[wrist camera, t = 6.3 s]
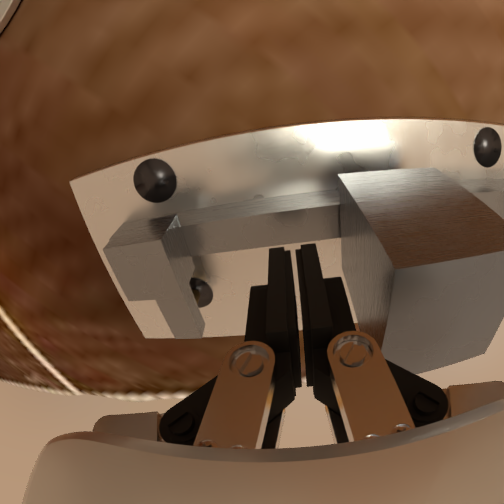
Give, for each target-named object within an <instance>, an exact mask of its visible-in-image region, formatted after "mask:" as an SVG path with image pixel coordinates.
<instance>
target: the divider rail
mask: <svg viewBox="0 0 504 504" xmlns="http://www.w3.org/2000/svg"><path fill="white" fill-rule="evenodd" d="M454 181H455V182H457V183H458V184H460V185H461V186H462V187H464V188H465V189H467V190H468V191H469V192H471V193H472V194H473V195H474V196H476V197H477V198H478V199H480V200H481V201H482V202H483V203H485V204H486V205H487V206H488V207H490V208H491V209H492V210H493V211H495V212H496V213H497V214H498V215H499V216H500V217H502V218H504V179H469V180H454ZM334 238H341V222H340V203H339V189H333V190H324V191H315V192H307V193H299V194H291V195H283V196H276V197H269V198H262V199H255V200H248V201H241V202H235V203H228V204H222V205H216V206H210V207H204V208H198V209H193V210H187V211H181V212H176V213H171V214H165V215H160V216H155V217H150V218H145V219H140V220H135V221H130V222H125V223H123V224H122V225H121V226H120V227H119V228H118V230H117V231H116V232H115V233H114V234H113V235H112V236H111V238H110V239H109V240H110V241H109V242H108V243H107V245H106V246H105V247H104V248H103V249H102V250H103V252H104V254H105V256H106V258H107V260H108V262H109V264H110V266H111V268H112V270H113V272H114V274H115V276H116V278H117V280H118V282H119V284H120V286H121V288H122V290H123V292H124V294H125V296H126V297H127V299H128V301H143V300H155V301H156V303H157V305H158V307H159V309H160V311H161V313H162V314H163V316H164V318H165V320H166V322H167V324H168V326H169V328H170V330H171V332H172V334H173V335H174V337H175V339H192V338H202V336H203V332H204V328H205V322H204V319H203V317H202V315H201V312H200V310H199V307H198V302H199V299H200V292H199V291H198V290H196V289H191V287H190V285H189V282H190V279H191V277H192V274H193V271H194V269H195V265H194V263H193V260H192V257H191V256H198V255H206V254H214V253H222V252H230V251H238V250H246V249H254V248H262V247H270V246H278V245H286V244H294V243H302V242H310V241H318V240H326V239H334Z"/></svg>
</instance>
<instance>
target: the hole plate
mask: <svg viewBox="0 0 504 504" xmlns="http://www.w3.org/2000/svg"><path fill="white" fill-rule="evenodd" d="M412 168H436V169H438V170H439V171H441V172H442V173H444V174H445V175H447V176H448V177H450V178H451V179H453V180H469V179H504V124H498V123H491V122H482V121H473V120H461V119H447V118H423V117H380V118H356V119H340V120H327V121H317V122H307V123H298V124H290V125H282V126H275V127H268V128H262V129H256V130H250V131H244V132H238V133H233V134H228V135H223V136H218V137H213V138H208V139H204V140H199V141H195V142H191V143H186V144H182V145H178V146H174V147H170V148H166V149H163V150H159V151H155V152H152V153H148V154H145V155H141V156H138V157H135V158H131V159H128V160H125V161H122V162H118V163H115V164H112V165H109V166H106V167H103V168H101V169H98V170H95V171H92V172H89V173H86V174H84V175H81V176H78V177H76V178H74V179H73V180H71V181H70V185H71V188H72V190H73V193H74V196H75V198H76V201H77V203H78V206H79V208H80V211H81V213H82V216H83V218H84V220H85V223H86V225H87V227H88V230H89V232H90V234H91V237H92V239H93V241H94V243H95V245H96V248H97V250H98V252H99V254H100V256H101V258H102V260H103V262H104V264H105V266H106V268H107V270H108V272H109V274H110V276H111V278H112V280H113V282H114V284H115V286H116V288H117V290H118V291H119V293H120V295H121V297H122V299H123V301H124V302H125V304H126V306H127V308H128V310H129V311H130V313H131V315H132V317H133V318H134V320H135V322H136V323H137V325H138V327H139V328H140V330H141V332H142V333H143V335H144V337H145V338H175V337H174V335H173V334H172V332H171V330H170V328H169V326H168V324H167V322H166V320H165V318H164V316H163V314H162V313H161V311H160V309H159V307H158V305H157V303H156V301H155V300H143V301H128V299H127V297H126V296H125V294H124V292H123V290H122V288H121V286H120V284H119V282H118V280H117V278H116V276H115V274H114V272H113V270H112V268H111V266H110V264H109V262H108V260H107V258H106V256H105V254H104V252H103V250H102V249H103V248H104V247H105V246H106V245H107V243H108V242H109V241H110V240H109V239H110V238H111V236H112V235H113V234H114V233H115V232H116V231H117V230H118V228H119V227H120V226H121V225H122V224H123V223H125V222H130V221H135V220H140V219H145V218H150V217H155V216H160V215H165V214H171V213H176V212H181V211H187V210H193V209H198V208H204V207H210V206H216V205H222V204H228V203H235V202H241V201H248V200H255V199H262V198H269V197H276V196H283V195H291V194H299V193H307V192H315V191H324V190H333V189H339V187H338V174H345V173H356V172H368V171H380V170H395V169H412ZM503 219H504V218H503ZM312 243H316V247H317V252H318V256H319V261H320V265H321V270H322V274H323V278H332V277H341V278H342V281H343V284H344V288H345V291H346V295H347V298H348V302H349V306H350V309H351V313H352V317H353V321H354V323H358V321H357V318H356V314H355V311H354V307H353V303H352V300H351V297H350V293H349V290H348V286H347V283H346V280H345V277H344V273H343V270H342V257H341V238H334V239H326V240H318V241H310V242H302V243H294V244H286V245H278V246H270V247H262V248H254V249H246V250H238V251H230V252H222V253H214V254H206V255H198V256H191V257H192V260H193V263H194V265H195V269H194V271H193V274H192V277H191V279H190V282H189V285H190V287H191V289H196V290H198V291H199V292H200V299H199V302H198V307H199V310H200V312H201V315H202V317H203V319H204V322H205V328H204V332H203V336H202V337H219V336H237V335H245V331H246V322H247V313H248V304H249V295H250V288H251V286H258V285H268V259H269V248H277V247H284V249H285V251H286V250H290V251H291V259H292V268H293V276H294V285H295V294H296V304H297V315H298V329H299V330H303V326H302V314H301V303H300V292H299V282H298V272H297V263H296V253H295V249H301V245H303V244H312Z"/></svg>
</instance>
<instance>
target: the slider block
mask: <svg viewBox="0 0 504 504" xmlns="http://www.w3.org/2000/svg"><path fill="white" fill-rule="evenodd" d="M338 187H339V203H340V222H341V257H342V270H343V273H344V277H345V280H346V283H347V286H348V290H349V293H350V297H351V300H352V303H353V307H354V311H355V314H356V318H357V321H358V325H359V329H360V331H361V332H363V333H366V334H368V335H370V336H371V337H373V338H374V340H375V341H376V342H377V344H378V346H379V348H380V350H381V352H382V354H383V356H384V358H385V359H387V360H388V361H390V362H392V363H394V364H396V365H398V366H400V367H402V368H404V369H406V370H408V371H410V372H412V373H413V374H419V373H423V372H427V371H431V370H434V369H438V368H441V367H444V366H448V365H451V364H455V363H458V362H461V361H464V360H467V359H470V358H473V357H476V356H478V355H481V354H484V353H485V351H486V350H487V348H488V346H489V345H490V343H491V341H492V339H493V337H494V335H495V333H496V331H497V329H498V327H499V325H500V323H501V321H502V319H503V317H504V219H503V218H502V217H500V216H499V215H498V214H497V213H496V212H495V211H493V210H492V209H491V208H490V207H488V206H487V205H486V204H485V203H483V202H482V201H481V200H480V199H478V198H477V197H476V196H474V195H473V194H472V193H471V192H469V191H468V190H467V189H465V188H464V187H462V186H461V185H460V184H458V183H457V182H455V181H454V180H453V179H451V178H450V177H448V176H447V175H445V174H444V173H442V172H441V171H439V170H438V169H436V168H412V169H395V170H380V171H368V172H356V173H345V174H338Z"/></svg>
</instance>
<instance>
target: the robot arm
mask: <svg viewBox="0 0 504 504" xmlns="http://www.w3.org/2000/svg"><path fill="white" fill-rule="evenodd" d="M20 1H21V0H0V33H1V32H2V30H3V29H4V28H5V26H6V25H7V23H8V22H9V20H10V18H11V17H12V15H13V13H14V12H15V10H16V8H17V6H18V4H19V3H20ZM295 253H296V263H297V272H298V282H299V292H300V303H301V314H302V326H303V338H304V351H305V365H306V381H307V387H309V386H313V392H314V396H315V398H316V399H317V400H319V401H320V402H322V403H323V404H325V409H326V413H327V417H328V421H329V424H330V428H331V432H332V436H333V440H334V444H331V445H324V446H314V447H301V448H283V449H278V447H279V442H280V438H281V432H282V427H283V422H284V417H285V408H286V407H287V406H288V405H289V404H290V403H291V402H292V401H293V400H294V399H295V396H296V388H297V387H302V383H301V362H300V345H299V329H298V315H297V304H296V294H295V285H294V276H293V268H292V259H291V251H290V250H286V251H285V249H284V247H277V248H269V259H268V285H258V286H251V288H250V295H249V304H248V313H247V322H246V331H245V340H244V342H243V343H239V344H237V345H236V346H234V347H232V348H231V349H230V350H229V351H228V352H227V354H226V356H225V357H224V360H223V363H222V365H221V368H220V371H219V374H218V375H217V376H216V377H215V378H213V379H212V380H210V381H209V382H208V383H206V384H205V385H203V386H202V387H201V388H199V389H198V390H196V391H195V392H194V393H192V394H191V395H189V396H188V397H186V398H185V399H184V400H182V401H181V402H179V403H178V404H176V405H175V406H173V407H172V408H170V409H169V410H168V411H167V412H166V413H163V414H159V413H158V412H147V413H136V414H121V415H107V416H103V417H102V418H100V419H99V420H98V421H97V422H96V423H95V425H94V428H93V432H86V431H84V432H74V433H68V434H64V435H60V436H58V437H56V438H53V439H52V440H50V441H49V442H48V443H47V444H46V445H45V446H44V448H43V449H42V451H41V453H40V455H39V456H38V458H37V461H36V463H35V465H34V468H33V470H32V473H31V475H30V478H29V482H28V485H27V488H26V491H25V494H24V498H23V502H22V504H504V382H502V381H492V382H483V383H474V384H464V385H453V386H449V387H448V388H447V389H441V388H440V387H438V386H437V385H435V384H433V383H431V382H429V381H427V380H425V379H423V378H421V377H419V376H417V375H415V374H413V373H412V372H410V371H408V370H406V369H404V368H402V367H400V366H398V365H396V364H394V363H392V362H390V361H388V360H387V359H385V358H384V356H383V354H382V352H381V350H380V348H379V346H378V344H377V342H376V341H375V340H374V338H373V337H371V336H370V335H368V334H366V333H363V332H361V331H356V329H355V325H354V321H353V317H352V313H351V309H350V306H349V302H348V298H347V295H346V291H345V288H344V284H343V281H342V278H341V277H332V278H323V274H322V270H321V265H320V261H319V256H318V252H317V247H316V243H312V244H303V245H301V249H295Z"/></svg>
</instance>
